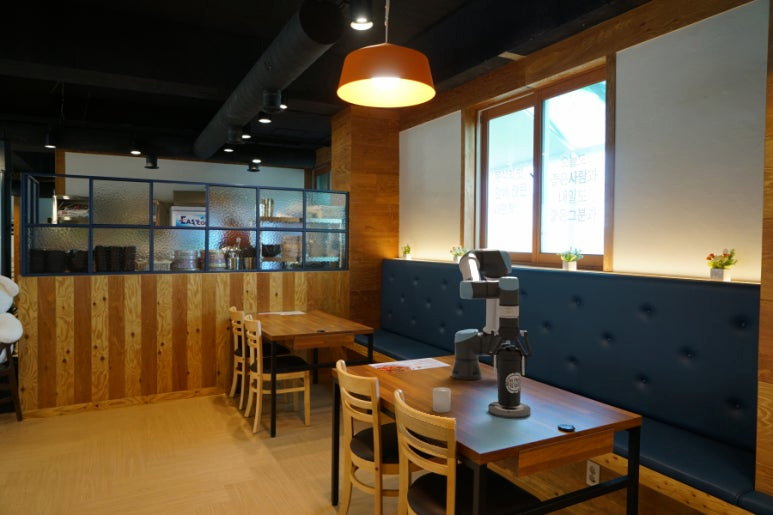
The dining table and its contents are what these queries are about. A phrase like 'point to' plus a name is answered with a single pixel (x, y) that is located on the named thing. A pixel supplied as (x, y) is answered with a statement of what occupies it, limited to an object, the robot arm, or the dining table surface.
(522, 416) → the grey plate
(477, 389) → the dining table surface
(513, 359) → the water bottle
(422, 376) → the dining table surface
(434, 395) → the white rounded capsule
